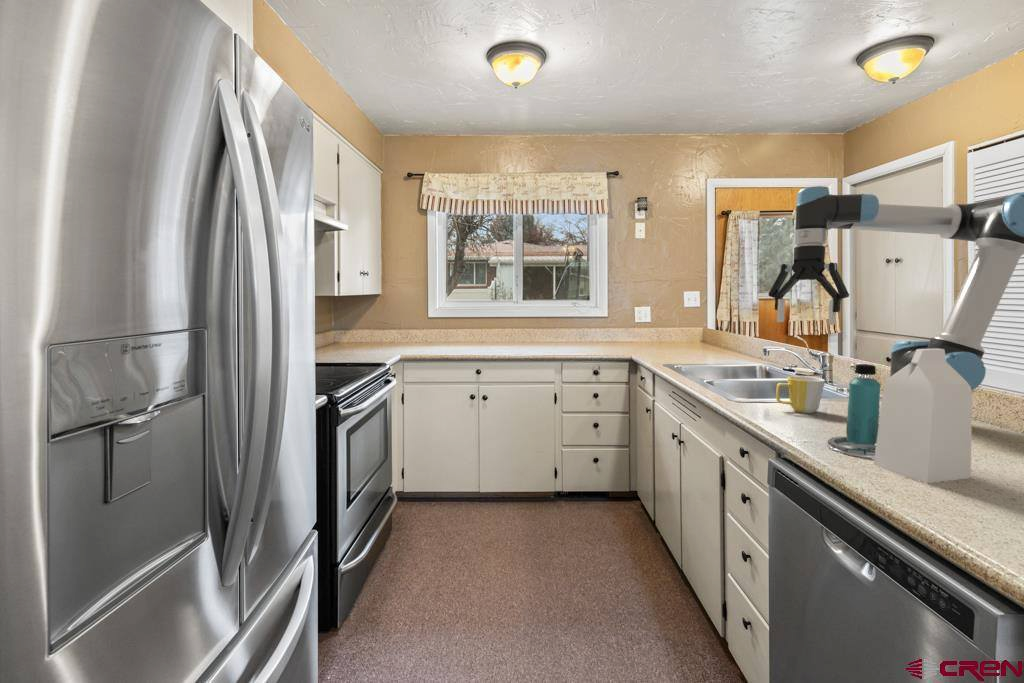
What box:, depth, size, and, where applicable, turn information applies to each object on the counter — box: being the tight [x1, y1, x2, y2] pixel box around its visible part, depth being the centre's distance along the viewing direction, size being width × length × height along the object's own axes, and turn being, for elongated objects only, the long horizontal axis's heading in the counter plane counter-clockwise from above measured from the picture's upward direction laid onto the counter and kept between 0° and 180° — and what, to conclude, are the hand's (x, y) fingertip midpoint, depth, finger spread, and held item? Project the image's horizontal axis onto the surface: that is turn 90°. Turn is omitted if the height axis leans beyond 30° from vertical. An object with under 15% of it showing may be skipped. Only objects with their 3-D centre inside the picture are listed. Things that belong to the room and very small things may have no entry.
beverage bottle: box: [845, 363, 881, 445], centre depth 128 cm, size 6×7×20 cm
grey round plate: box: [826, 436, 876, 459], centre depth 129 cm, size 14×14×1 cm
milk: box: [873, 348, 973, 484], centre depth 113 cm, size 12×12×26 cm
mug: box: [775, 375, 826, 414], centre depth 170 cm, size 14×10×10 cm
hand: (805, 323), depth 150 cm, fingers open, 13 cm apart
